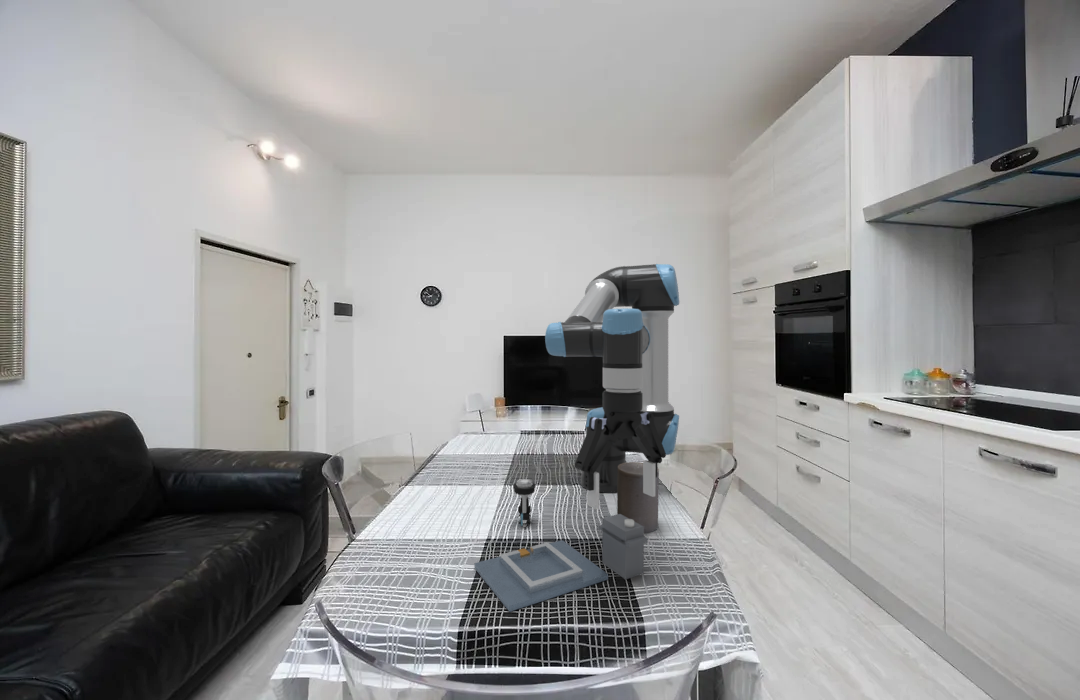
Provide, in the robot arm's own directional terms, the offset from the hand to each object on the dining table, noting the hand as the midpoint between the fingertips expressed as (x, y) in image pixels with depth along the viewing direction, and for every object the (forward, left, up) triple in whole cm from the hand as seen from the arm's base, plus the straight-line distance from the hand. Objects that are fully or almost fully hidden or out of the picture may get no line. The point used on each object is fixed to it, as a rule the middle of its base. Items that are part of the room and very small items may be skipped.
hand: (622, 500), depth 87 cm
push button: (+7, -28, -13) cm, 32 cm away
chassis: (+15, -6, -13) cm, 21 cm away
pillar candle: (-16, -14, -14) cm, 25 cm away
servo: (0, 0, -13) cm, 13 cm away
